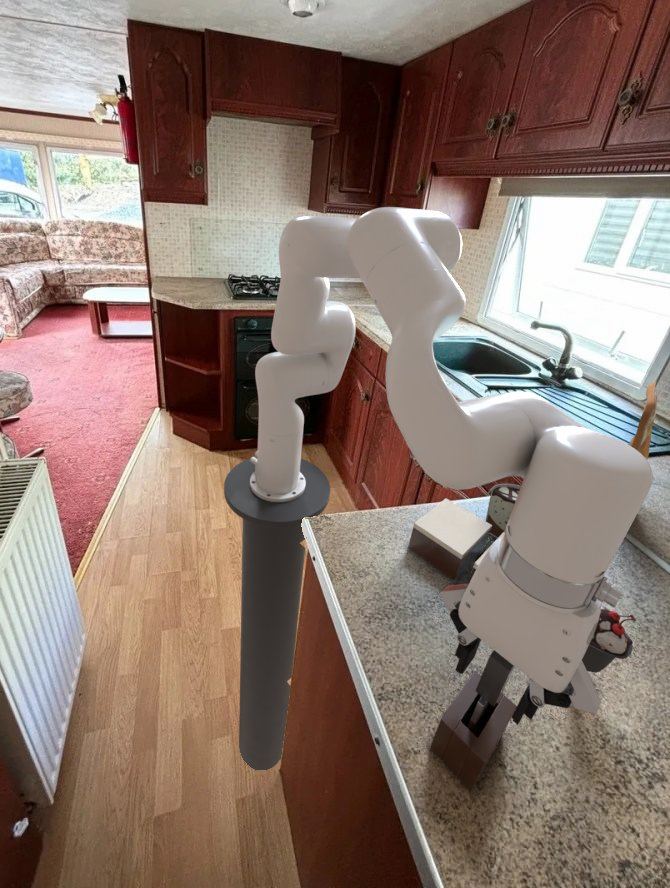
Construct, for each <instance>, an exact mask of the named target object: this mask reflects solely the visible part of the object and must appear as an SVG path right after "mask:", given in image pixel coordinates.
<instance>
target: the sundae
mask: <svg viewBox="0 0 670 888" xmlns="http://www.w3.org/2000/svg"><path fill="white" fill-rule="evenodd" d="M626 617H627V618H626ZM621 618H624V619H623V620H621ZM625 618H626V619H625ZM620 620H621V621H620ZM626 621H633V622H636V621H637V619H636V617H634V615H632V614H630V615H621V614H619V613H618V612H617V611H615V610H609V609H608V608H606V607H601V611H600V616H599V620H598V624H597V627H596V629H595V632H594V635H593V637H592V639H591V641H590V643H589V646H588V648H587V650H586V652H585V655H584V657H583V659H582V661H583V664H584V666H585V668H586V670H587V672H588V673H589V672H590V673H594V674H595V673H596V674H597V673H600V672H601V671H603V670H604V669H606V668H607V667H608V666H609V665H610V664H611V663H612V662H613V661H614V660H615V659H619V660H625V659H627V658H629V657H630V656H631V654H632V652H633V648H634V647H633V644H634V641H633V640H632V639H631V637H630V636H629V634H628V633H627V632H626V630H625V627H624V626H623V625H622V624H623V623H624V622H626ZM569 685H570V686H571V687H572V684H571V682H570V683H569Z"/></svg>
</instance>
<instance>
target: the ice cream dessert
mask: <svg viewBox="0 0 670 888" xmlns="http://www.w3.org/2000/svg"><path fill="white" fill-rule="evenodd" d="M520 488H521V485H519V484H514V483H499V484H495V485H493V486H492V487H491V488H490V489H489V490H488V492H487V493H486V494H487V495H490V496H489V502H488V506H487V512H486V515H485V521H486V522H487V523H489V524H491V525H492V528H491V530H490V533H489V535H491V536H492V537H494V538H495V539H496V540H497V539H498V537H499V536H500V535H501V534H502V533H503V532H505V529H506V526H507V523H508V521H509V518H510V515H511V513H512V510H513V507H514V504H515V502H516V499H517V496H518V494H519V491H520Z"/></svg>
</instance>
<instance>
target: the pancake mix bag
mask: <svg viewBox="0 0 670 888" xmlns="http://www.w3.org/2000/svg"><path fill="white" fill-rule="evenodd" d="M657 382H658V380H657V381H653V382H650V383H649V384H648V385H647V387H646V391H645V397H646V403H645V406H644V407H643V410H642V415H641V417H640V418H639V422H638V426H637V429H636V433H635V434H634V436H633V437H632V439H631V440H630V441H629V443H627V444H628V445H630V446H631V447H633V448H634V449H636V450H637V451H638V452H640V453H641V454H642V455H643V456H644V457H645V458H646V460H647V461H649V456H650V447H651V441H652V433H653V431H652V430H653V426H654V423H655V420H656V416H657V405H658V395H657V392H656V384H657Z"/></svg>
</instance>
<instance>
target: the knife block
mask: <svg viewBox="0 0 670 888" xmlns="http://www.w3.org/2000/svg"><path fill="white" fill-rule="evenodd" d="M481 676H482V674H481V673H479V672H478V671H476V670H474V671H473V672H472V674H471V675H470V676H469V678H468V679H467V681H466V682H465V683H464V685H463V687H462V688H461V689H460V691H459V692H458V693H457V695H456V697H455V698H454V700H453V701H452V703H451V704H450V705H449V706H448V708H447V709H446V711H445V712H444V713H443V716H442V717H440V719H439V723H438V726H437V728H436V731H435V734H434V736H433V738H432V742H431V744H430V746H429V749H430V751H432V752H433V754H434V755H435V756H436V757H437V758H438V759H439V760H440V761H441V762H442V763H443V764H444V765H445V766H446V768H447V769H448V770H450V772H451V773H452V774H453V775H454V776H455V777H456V778H457V779H458V780H459V781H460V782H461V784H463V786H465V788H466V789H467V790H468V791H469V792H470V793H471V792H473V790H474V788H475V787H476V784H477V782H478V780H479V778H480V777H481V775H482V773H483V771H484V769H485V768H486V766H487V764H488V763H489V760H490V759H491V757H492V756H493V753H494V752H495V750H496V748H497V746H498V744H499V742H500V740H501V739H502V737H503V736H504V733H505V731H506V729H507V727H508V725H509V724H510V721H511V719H512V718H511V717H512V715H513V713H514V711H515V709H516V707H517V704H515V703H514V702H513V701H512V700H511V699H509V698H508V697H507V696H505V695H504V693H502V694H501V696H500V697H499V699H498V701H497V702H496V704H495V706H494V707H493V706H492V705H491V704H489V706H488V708H487V710H486V712H485V715H484V717H483V719H482V721H481V723H480V726H479V728H478V729H480V730H481V732H480V734H479V736H478V737H477V736H476V734H475V735H474V734H473V733H472V732H471V731H470V730H469V729H468V728H467V726H466V724H467V722H468V720H470V719H471V717H472V715H473V712H474V710H475V708H476V705H477V703H478V701H479V700H480V698H481V695H480V694H478V693H477V692H476V691H475V690H476V688H477V685H478V683H479V681H480V678H481Z"/></svg>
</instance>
